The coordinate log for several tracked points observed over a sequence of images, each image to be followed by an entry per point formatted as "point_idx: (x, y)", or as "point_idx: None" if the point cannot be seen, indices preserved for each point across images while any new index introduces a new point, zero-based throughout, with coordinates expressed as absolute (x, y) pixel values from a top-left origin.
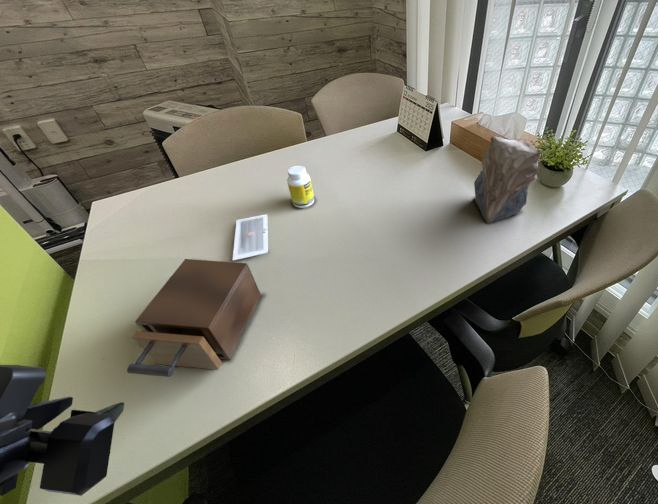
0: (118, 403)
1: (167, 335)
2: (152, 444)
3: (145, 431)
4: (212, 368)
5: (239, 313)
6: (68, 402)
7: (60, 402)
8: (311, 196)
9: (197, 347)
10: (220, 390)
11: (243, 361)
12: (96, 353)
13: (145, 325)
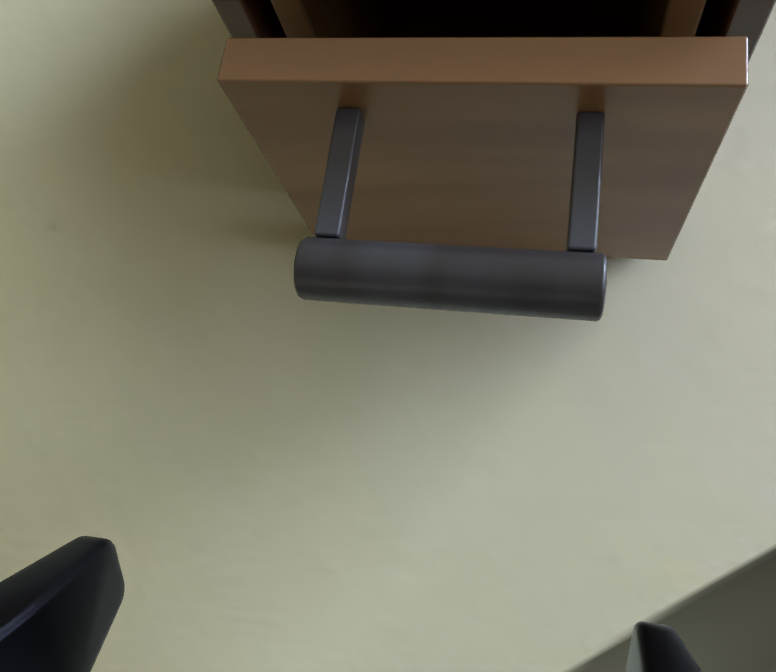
0: (664, 661)
1: (460, 49)
2: (480, 607)
3: (413, 546)
4: (632, 255)
5: None
6: (98, 589)
7: (42, 625)
8: None
9: (690, 122)
10: (709, 361)
11: (764, 216)
12: (12, 206)
13: (255, 10)
